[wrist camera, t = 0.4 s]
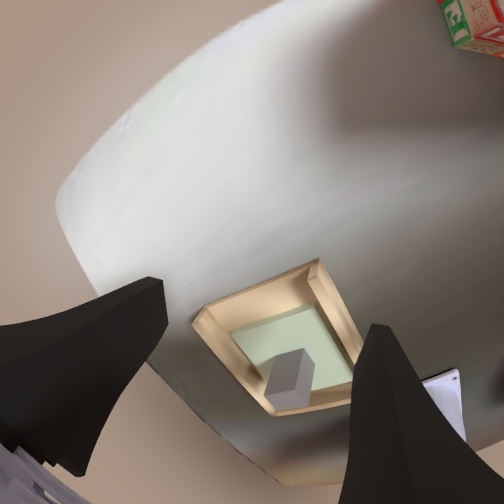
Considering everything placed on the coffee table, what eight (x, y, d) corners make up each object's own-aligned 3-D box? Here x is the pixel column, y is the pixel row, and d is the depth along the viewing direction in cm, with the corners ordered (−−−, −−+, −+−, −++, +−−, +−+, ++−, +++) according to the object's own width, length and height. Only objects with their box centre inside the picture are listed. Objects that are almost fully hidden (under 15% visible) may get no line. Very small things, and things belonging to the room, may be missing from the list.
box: (378, 372, 21) (378, 395, 19) (278, 396, 26) (272, 416, 23) (319, 257, 18) (316, 277, 16) (204, 305, 23) (191, 324, 20)
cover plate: (356, 372, 21) (354, 420, 17) (282, 390, 24) (270, 433, 20) (315, 300, 19) (307, 350, 15) (233, 328, 22) (211, 373, 18)
